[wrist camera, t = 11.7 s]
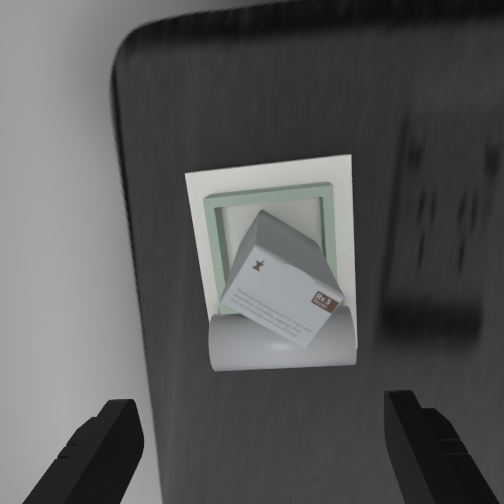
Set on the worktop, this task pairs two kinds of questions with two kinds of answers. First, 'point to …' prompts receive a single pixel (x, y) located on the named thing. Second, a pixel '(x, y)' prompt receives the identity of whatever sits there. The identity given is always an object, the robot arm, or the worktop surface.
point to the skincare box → (282, 281)
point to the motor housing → (301, 219)
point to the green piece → (262, 196)
